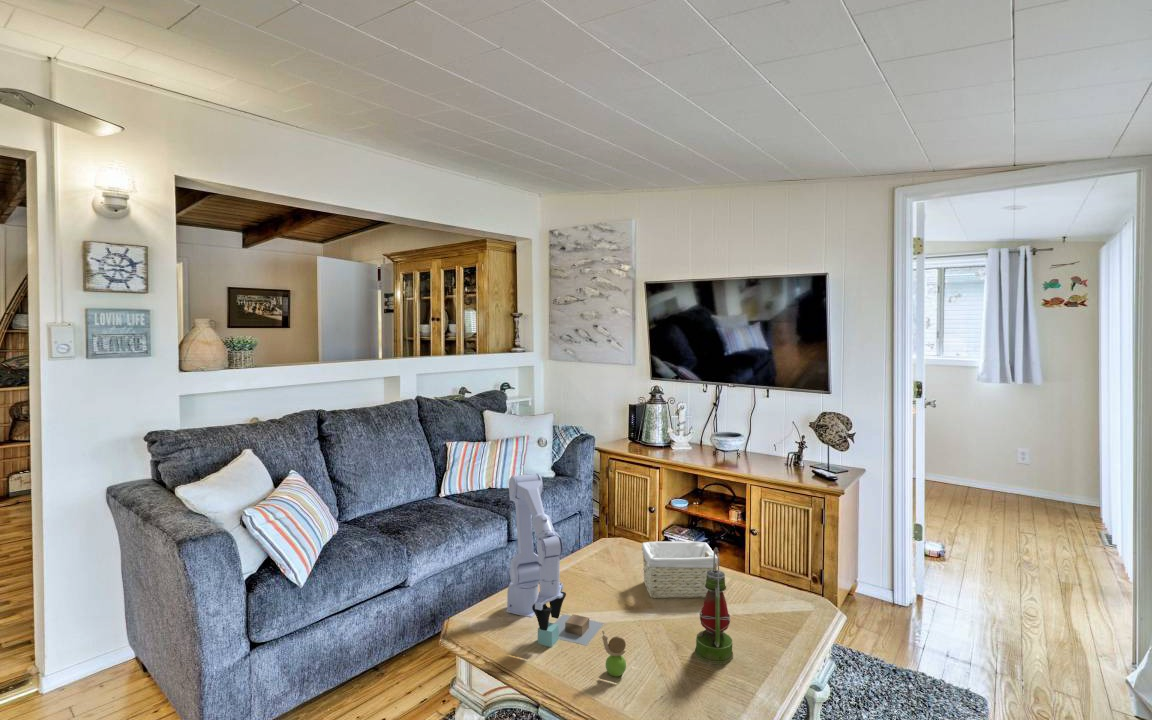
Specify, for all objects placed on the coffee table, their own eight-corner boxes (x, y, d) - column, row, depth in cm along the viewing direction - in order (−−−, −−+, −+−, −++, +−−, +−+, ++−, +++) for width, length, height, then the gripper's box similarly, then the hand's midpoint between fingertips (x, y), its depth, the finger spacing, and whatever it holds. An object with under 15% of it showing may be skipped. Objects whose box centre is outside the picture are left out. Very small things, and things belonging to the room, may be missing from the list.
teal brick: (537, 645, 172) (537, 628, 171) (544, 637, 176) (544, 621, 176) (551, 648, 170) (551, 631, 170) (558, 641, 174) (558, 624, 174)
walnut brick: (565, 632, 178) (565, 622, 178) (572, 623, 183) (572, 614, 183) (582, 636, 176) (582, 626, 176) (589, 627, 181) (589, 617, 181)
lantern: (692, 639, 175) (694, 539, 174) (729, 641, 174) (731, 541, 173) (697, 666, 162) (699, 558, 160) (737, 668, 161) (740, 560, 159)
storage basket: (705, 579, 217) (706, 539, 216) (718, 600, 201) (719, 557, 200) (640, 580, 215) (640, 540, 214) (648, 601, 199) (649, 558, 198)
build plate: (543, 636, 177) (543, 635, 177) (562, 615, 189) (563, 614, 189) (586, 646, 171) (586, 645, 171) (604, 624, 184) (604, 623, 184)
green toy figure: (600, 669, 160) (601, 626, 159) (624, 668, 160) (624, 625, 160) (603, 681, 155) (603, 636, 154) (627, 680, 155) (628, 635, 154)
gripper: (551, 590, 164) (550, 638, 165) (572, 570, 177) (572, 615, 178) (528, 585, 167) (528, 632, 168) (551, 566, 180) (550, 610, 181)
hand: (549, 623), depth 173 cm, fingers open, 7 cm apart
